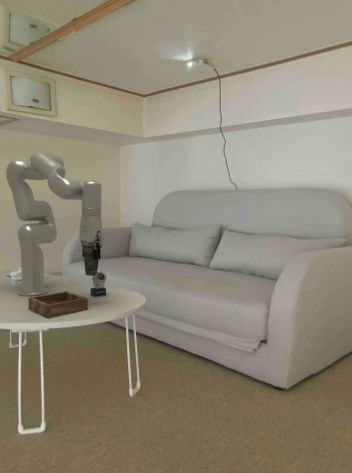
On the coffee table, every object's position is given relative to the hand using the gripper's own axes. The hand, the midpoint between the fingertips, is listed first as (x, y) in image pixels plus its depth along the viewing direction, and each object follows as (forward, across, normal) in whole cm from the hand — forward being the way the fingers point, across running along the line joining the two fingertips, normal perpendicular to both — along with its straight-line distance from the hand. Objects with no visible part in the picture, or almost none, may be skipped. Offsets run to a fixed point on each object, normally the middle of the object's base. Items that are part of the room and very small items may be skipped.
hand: (91, 257), depth 148 cm
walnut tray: (+19, -3, -13) cm, 23 cm away
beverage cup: (+7, 0, 0) cm, 7 cm away
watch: (+20, -12, +11) cm, 26 cm away
